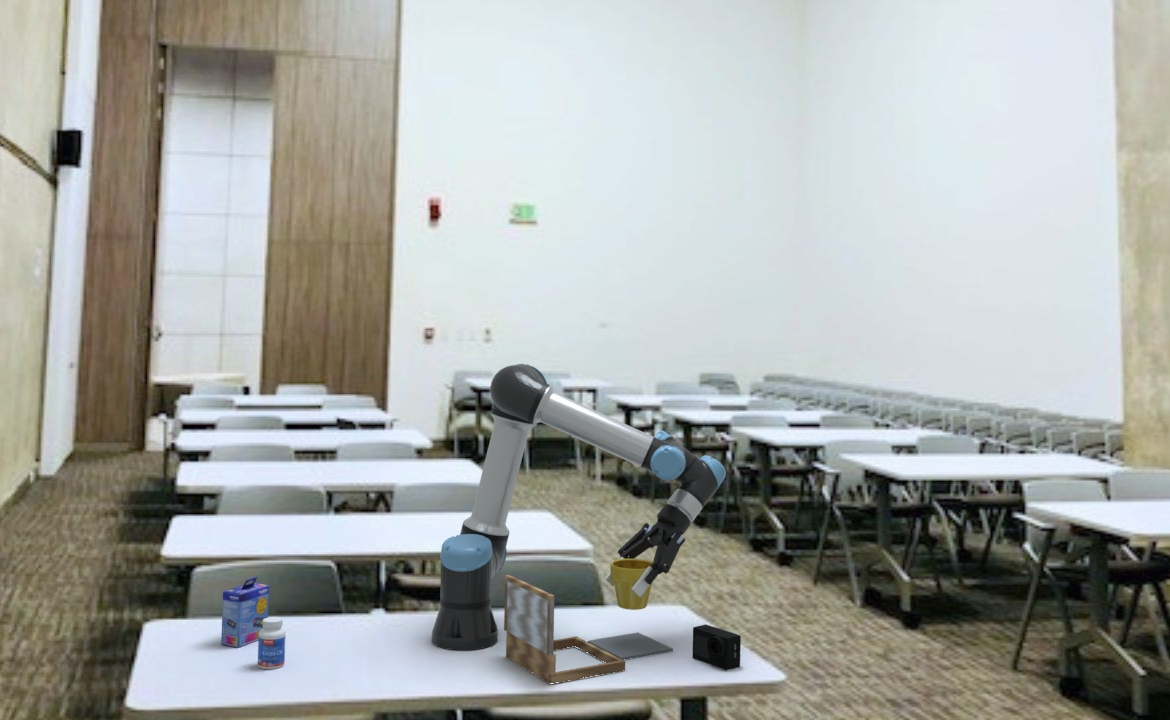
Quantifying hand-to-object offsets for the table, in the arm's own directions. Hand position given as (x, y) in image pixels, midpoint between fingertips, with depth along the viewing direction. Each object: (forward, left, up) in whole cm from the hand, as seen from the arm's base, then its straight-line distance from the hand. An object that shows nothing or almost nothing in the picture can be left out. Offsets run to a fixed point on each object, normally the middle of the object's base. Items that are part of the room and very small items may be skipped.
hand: (622, 587), depth 221 cm
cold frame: (+3, -16, -14) cm, 22 cm away
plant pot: (0, +3, -5) cm, 6 cm away
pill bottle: (-25, -71, -14) cm, 77 cm away
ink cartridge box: (-45, -72, -14) cm, 86 cm away
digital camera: (+17, +13, -14) cm, 26 cm away
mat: (0, +3, -14) cm, 14 cm away
